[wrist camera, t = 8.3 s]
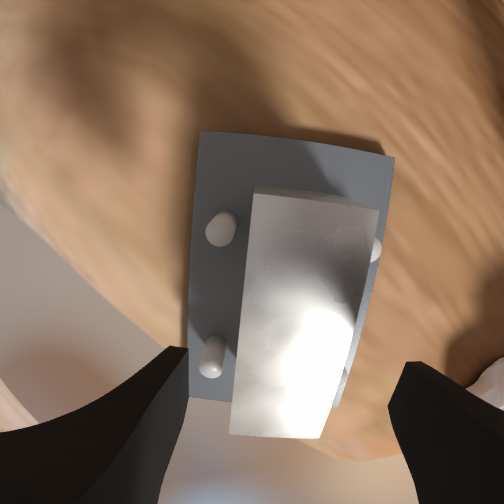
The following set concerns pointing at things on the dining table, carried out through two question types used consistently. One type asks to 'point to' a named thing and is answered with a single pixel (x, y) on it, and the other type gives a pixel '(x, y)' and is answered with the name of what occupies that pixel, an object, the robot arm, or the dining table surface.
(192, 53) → the dining table surface
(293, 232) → the block
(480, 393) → the bust
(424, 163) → the dining table surface
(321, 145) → the pin tray
